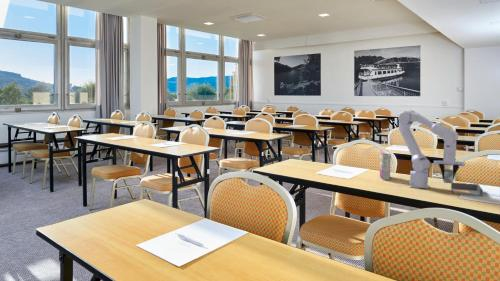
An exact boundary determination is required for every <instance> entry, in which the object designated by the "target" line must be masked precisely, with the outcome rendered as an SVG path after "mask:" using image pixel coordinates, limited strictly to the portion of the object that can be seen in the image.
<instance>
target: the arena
mask: <svg viewBox="0 0 500 281" xmlns="http://www.w3.org/2000/svg"><path fill="white" fill-rule="evenodd" d="M450 190H451V192H452V191H453V192H452V193H453V195H459V194H463V195H462V196H471V195H476V196H475V197H483V191H484V190H483V188H482V187H481V186H480V185H479V183H478V184H477V183H464V182H453V183H450Z"/></svg>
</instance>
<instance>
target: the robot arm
mask: <svg viewBox="0 0 500 281" xmlns="http://www.w3.org/2000/svg"><path fill="white" fill-rule="evenodd" d="M397 119H398V130H399V132H400V134H401V136H402V138H403V140H404V142H405V144H406V147H407V149H408V152H409V153H410V156H411V163H412V169H413V170H410V172H409V173H410V175H409V180H408V182H409V183H408V184H409V187H410V188H413V189H414V188H415V189H426V190H427V189H429V188H430V187H429V181H428V180H429V169H430V167H431V162H430V159H428V158H427V157H426V155H424V153H422V151H421V149H420V147H419V144H418V143H417V141H416V138H415V137H414V133H413V132H412V131H411V126H412V124H413V123H414V122H417V123H419V124H422V125H423V126H425V127H428V128H429V129H430V131H431V132H432V133H433V134H435V135H437V136H438V137H440V138H442V140H443V142H444V143H443V155H442V156H443V159H442V160H433V165H437V166H439V168H440V172H441V178H442V179H443V178H444V169H445V168H446V167H445V166H452V171H453V180H454V179H455V177H456V174H457V172H458V170H459V168H460V167H465V166H466V164H465V162H464V161H458V160H457V161H456V156H457V152H456V151H457V140H458V139H459V133H458V132H457V131H456V130H453V129H452V130H451V128H450V127H448V128H447V127H446V126H444V125H443V123H442V122H440V123H439V122H435V123H434V122H433V121H431V120H430V119H428V118H427V117H425V116H424V115H422V114H420V113H419V112H416V111H415V110H412V109H411V110H404V111H401V112H400V113H399V115H398V117H397Z"/></svg>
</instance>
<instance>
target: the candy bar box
mask: <svg viewBox="0 0 500 281" xmlns="http://www.w3.org/2000/svg"><path fill="white" fill-rule="evenodd" d="M391 155H392V154H391V153H390V152H389V151H388V150H380V152H379V178H380V179H381V178H382V179H383V180H382V179H381V180H382V181H391V161H392V160H391V157H392V156H391Z"/></svg>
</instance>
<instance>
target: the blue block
mask: <svg viewBox="0 0 500 281" xmlns="http://www.w3.org/2000/svg"><path fill="white" fill-rule="evenodd" d="M442 181H443V183H444V184H451V183H454V179H453V169H450V168H449V169H445V168H444V178H442Z"/></svg>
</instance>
